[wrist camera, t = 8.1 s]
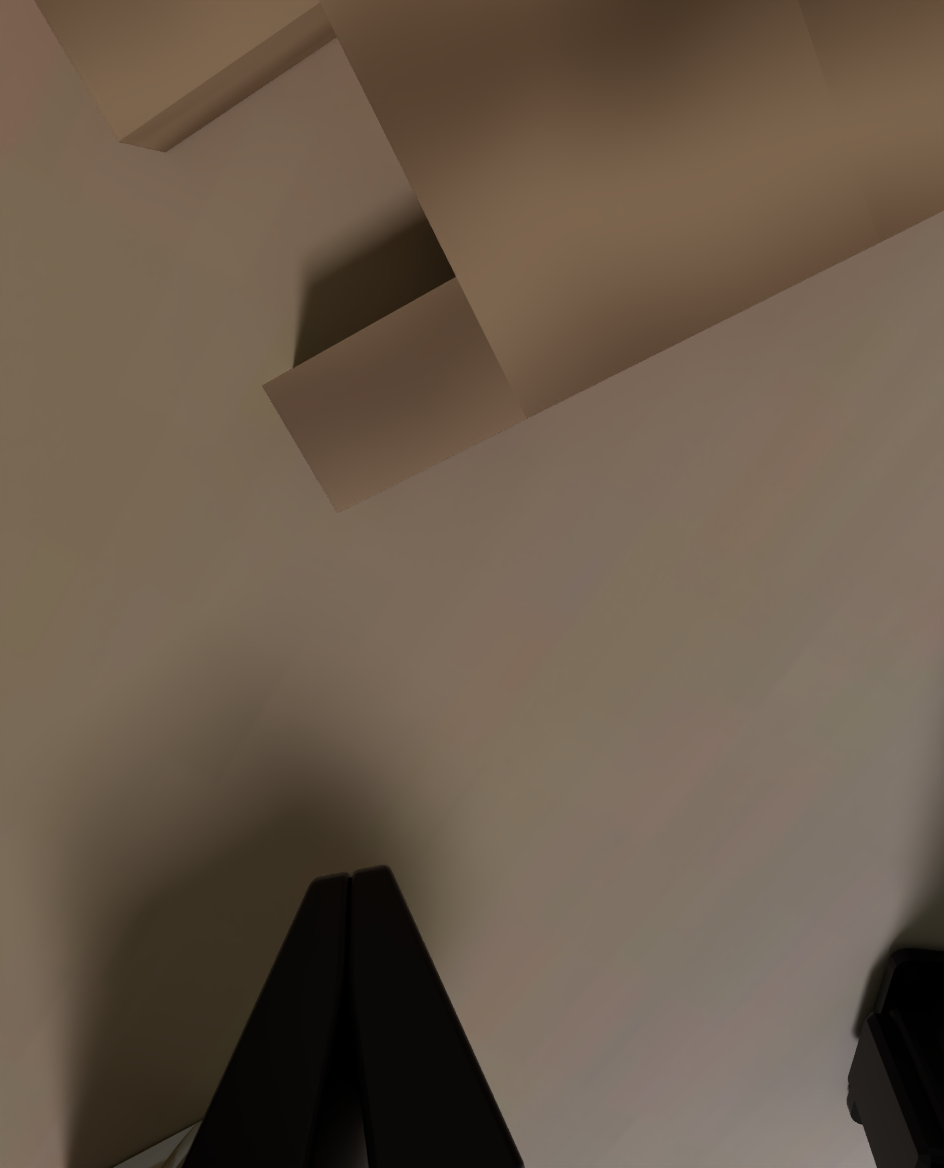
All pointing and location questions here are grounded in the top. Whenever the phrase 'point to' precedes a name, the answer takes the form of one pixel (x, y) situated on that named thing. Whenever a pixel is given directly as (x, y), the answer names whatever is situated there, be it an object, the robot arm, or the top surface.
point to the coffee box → (164, 1152)
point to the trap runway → (556, 178)
